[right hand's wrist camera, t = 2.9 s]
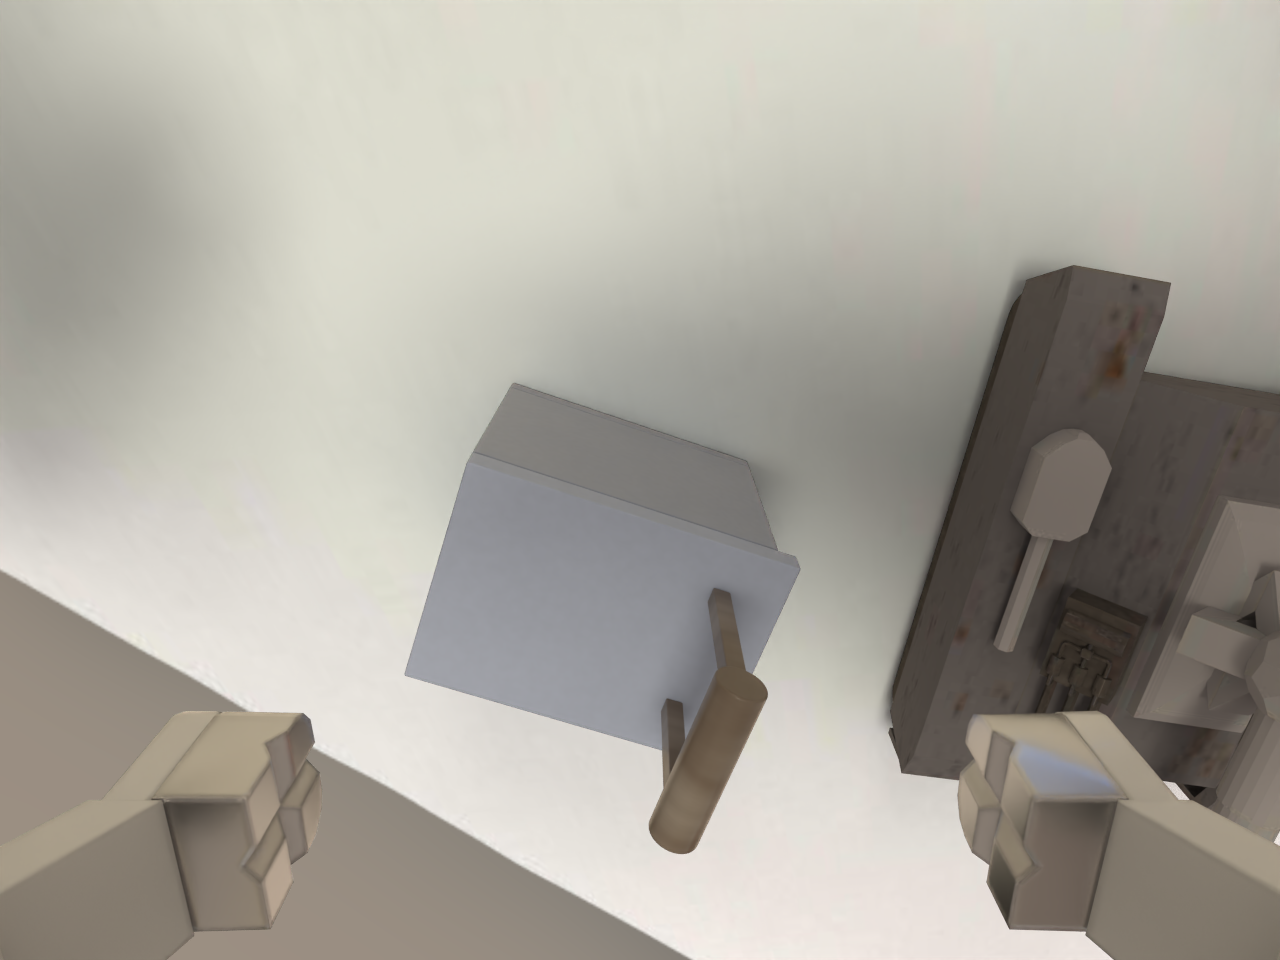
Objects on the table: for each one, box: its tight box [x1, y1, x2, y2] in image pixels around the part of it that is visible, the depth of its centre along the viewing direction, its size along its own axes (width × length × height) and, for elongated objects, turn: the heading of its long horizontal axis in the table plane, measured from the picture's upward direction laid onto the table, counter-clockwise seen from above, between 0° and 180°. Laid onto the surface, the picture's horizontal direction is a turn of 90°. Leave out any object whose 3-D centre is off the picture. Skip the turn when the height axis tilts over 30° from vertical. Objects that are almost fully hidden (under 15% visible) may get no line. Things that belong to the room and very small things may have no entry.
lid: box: [405, 453, 800, 854], centre depth 30 cm, size 13×9×8 cm
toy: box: [889, 265, 1280, 843], centre depth 37 cm, size 25×20×15 cm
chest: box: [473, 383, 778, 551], centre depth 39 cm, size 12×9×10 cm
